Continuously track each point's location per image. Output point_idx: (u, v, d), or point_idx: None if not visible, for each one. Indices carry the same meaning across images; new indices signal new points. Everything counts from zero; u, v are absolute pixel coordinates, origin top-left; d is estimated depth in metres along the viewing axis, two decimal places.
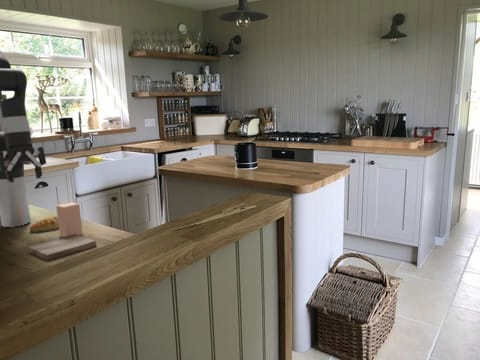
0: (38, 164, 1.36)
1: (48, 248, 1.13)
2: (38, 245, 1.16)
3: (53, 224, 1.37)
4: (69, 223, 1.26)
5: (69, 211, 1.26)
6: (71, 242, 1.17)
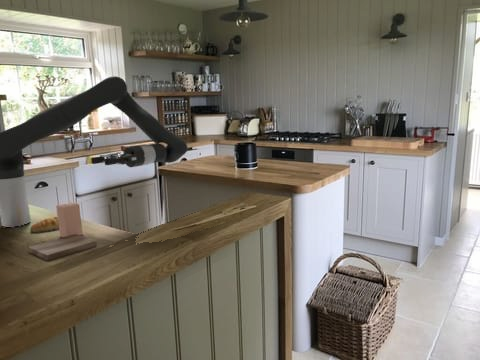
0: (104, 162, 1.41)
1: (48, 248, 1.13)
2: (38, 245, 1.16)
3: (54, 224, 1.36)
4: (69, 223, 1.26)
5: (69, 211, 1.26)
6: (71, 242, 1.17)
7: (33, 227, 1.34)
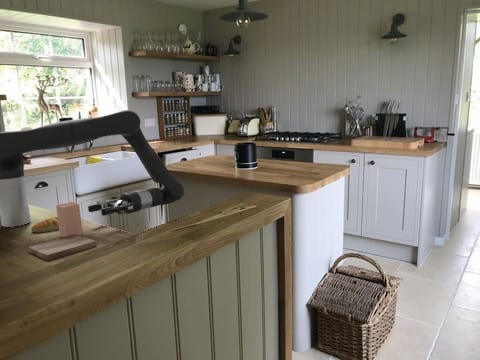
0: None
1: (48, 248, 1.13)
2: (38, 245, 1.16)
3: (55, 224, 1.36)
4: (69, 223, 1.26)
5: (69, 211, 1.26)
6: (71, 242, 1.17)
7: (34, 227, 1.34)
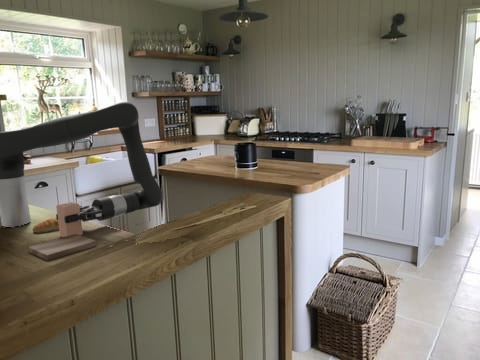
0: None
1: (48, 248, 1.13)
2: (38, 245, 1.16)
3: (57, 225, 1.36)
4: (69, 223, 1.26)
5: (69, 211, 1.26)
6: (71, 242, 1.17)
7: (36, 228, 1.33)
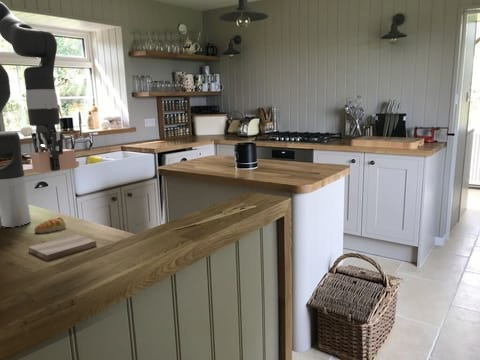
0: None
1: (48, 248, 1.13)
2: (38, 245, 1.16)
3: (59, 225, 1.36)
4: (60, 165, 1.11)
5: (46, 165, 1.08)
6: (71, 242, 1.17)
7: (38, 228, 1.33)
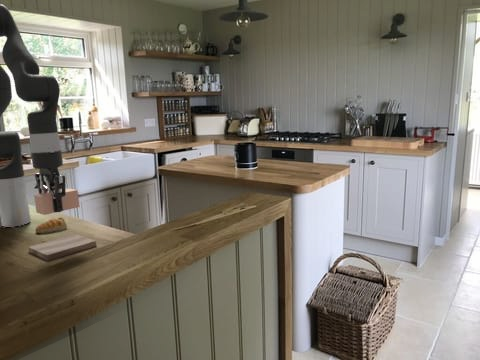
0: None
1: (48, 248, 1.13)
2: (38, 245, 1.16)
3: (60, 225, 1.35)
4: (63, 206, 1.13)
5: (49, 207, 1.10)
6: (71, 242, 1.17)
7: (39, 228, 1.32)
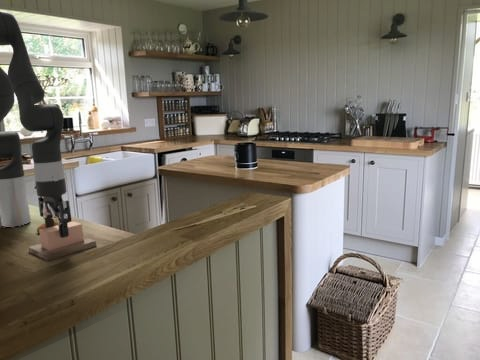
0: None
1: None
2: (38, 245, 1.16)
3: None
4: (67, 241, 1.14)
5: (54, 243, 1.12)
6: None
7: (41, 228, 1.32)
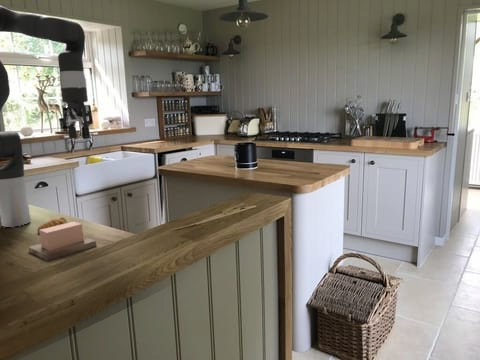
0: None
1: None
2: (38, 245, 1.16)
3: None
4: (67, 241, 1.14)
5: (54, 243, 1.12)
6: None
7: (41, 228, 1.32)
